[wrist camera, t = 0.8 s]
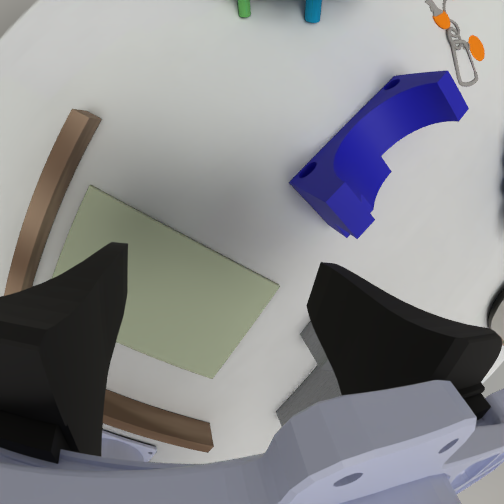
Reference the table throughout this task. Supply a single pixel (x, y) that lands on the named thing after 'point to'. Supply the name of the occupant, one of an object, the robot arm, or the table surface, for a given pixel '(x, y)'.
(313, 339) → the bracket
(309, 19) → the gear
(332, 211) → the cable clip
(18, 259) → the corner walls
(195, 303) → the mat
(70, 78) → the table surface
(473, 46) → the key chain
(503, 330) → the spread jar
